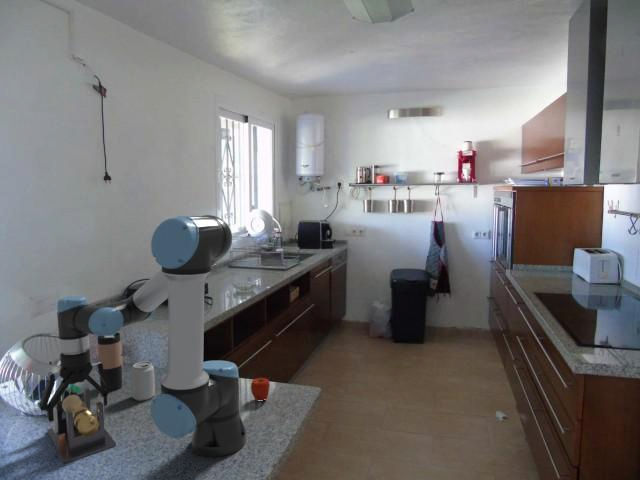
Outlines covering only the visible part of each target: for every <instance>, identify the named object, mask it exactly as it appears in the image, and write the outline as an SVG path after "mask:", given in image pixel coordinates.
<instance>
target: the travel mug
mask: <svg viewBox="0 0 640 480" xmlns="http://www.w3.org/2000/svg"><path fill="white" fill-rule="evenodd" d="M121 342H122V341H121V333H119V332H117V333H116V334H115V335H111V336H99V335H97V352H98V355H97V356H98V361H99V362H101V363H102V364H103V371H104V373H105V375H106V376H107V378H108V380H109V382H110V384H111V386H112V387H113V392H115V391H118V390H121V389H122V387H123V360H122V359H123V358H122V346H121V344H122V343H121ZM99 381H100V382H99V383H100V384H99V385H100V386H101V387H102V388H103V389H106V386H105V384H104V383H103V381H102V379H101V377H100V376H99Z"/></svg>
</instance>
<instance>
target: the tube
mask: <svg viewBox="0 0 640 480" xmlns="http://www.w3.org/2000/svg"><path fill="white" fill-rule="evenodd" d="M61 406H62V409H63V411H64V412H65V413H66V412H67V411H70V410H71V411H72V413H73V424H74V425H75V427H76V428H77V429H78V431H79V432H80V434H81V435H83V436H91V435H93V434H94V433H95V432H96V431H97V430H98V428H99V421H98V420H97V416H95V415H94V413H93V412H92V411H90V410H89V409H88V408H87V406H86V405H85V404H84V401H83V400H82V399H81V398H80V396H78V395H77V394H69V395H68V396H66V397H65V398H64V399H63V401H61Z"/></svg>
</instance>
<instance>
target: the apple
mask: <svg viewBox="0 0 640 480" xmlns="http://www.w3.org/2000/svg"><path fill="white" fill-rule="evenodd" d="M269 380H270V379H267V378H266V377H257V378H254V379H253V380H252V381H251V383H250V389H251V393H252V396H253V398H254V399H255V400H256V399H257V400H264V399H266V400H267V399H268V396H269V391H270V382H271V381H269ZM257 400H256V401H257Z"/></svg>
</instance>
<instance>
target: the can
mask: <svg viewBox="0 0 640 480" xmlns="http://www.w3.org/2000/svg"><path fill="white" fill-rule="evenodd" d="M130 375H131V377H130V378H131V379H130V380H131V398H133V399H134V400H136V401H137V402H142V401H143V402H144V401H148V400H151V399H152V398H153V397H154V396H155V394H156V384H155V383H156V381H155V367H154V366H153V363H152V362H151V361H146V360H145V361H139V362H136V363H134V364H133V365H132V368H131V369H130Z"/></svg>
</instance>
